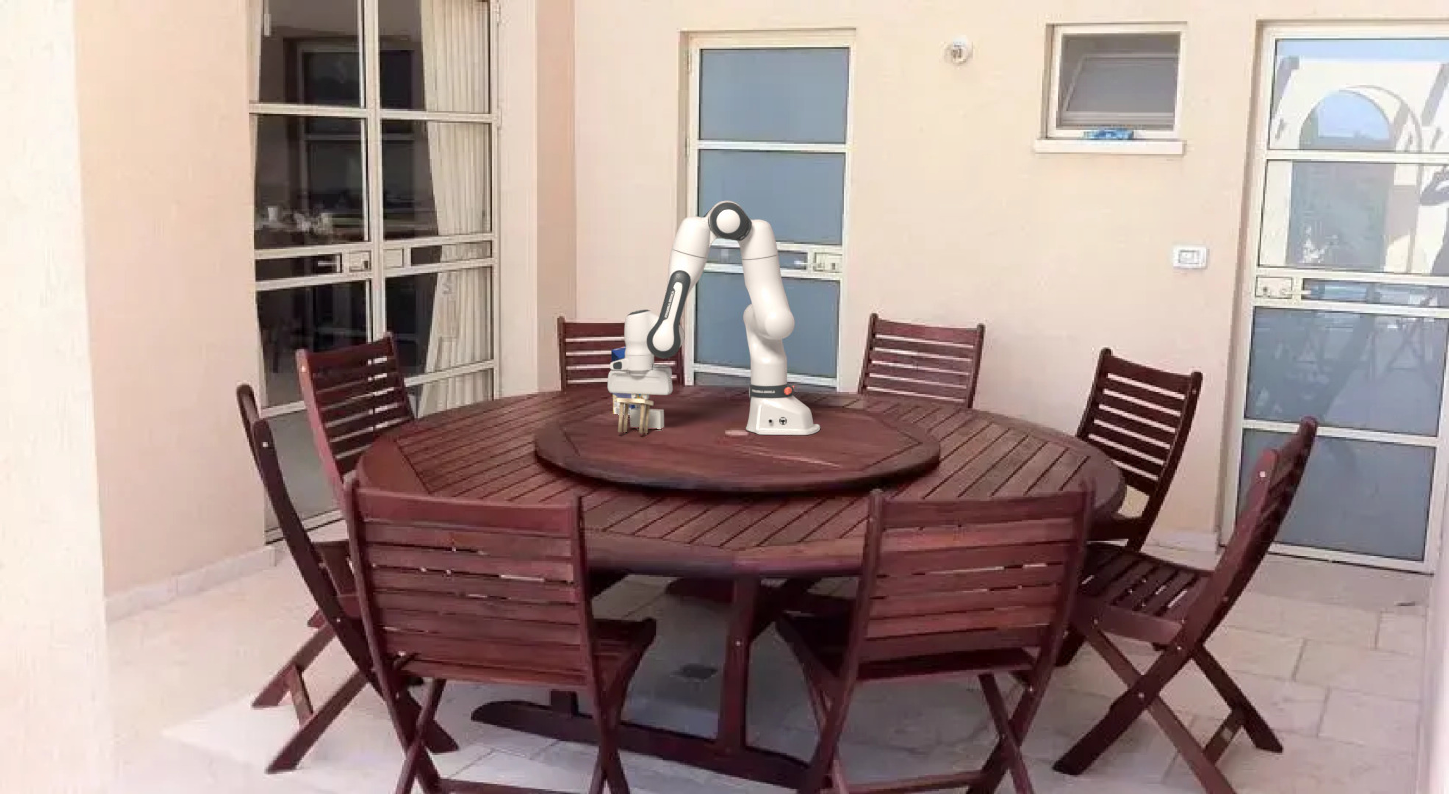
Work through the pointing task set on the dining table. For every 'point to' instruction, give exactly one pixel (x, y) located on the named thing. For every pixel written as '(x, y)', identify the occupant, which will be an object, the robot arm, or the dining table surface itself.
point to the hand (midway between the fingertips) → (640, 408)
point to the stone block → (654, 418)
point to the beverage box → (615, 356)
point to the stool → (627, 402)
